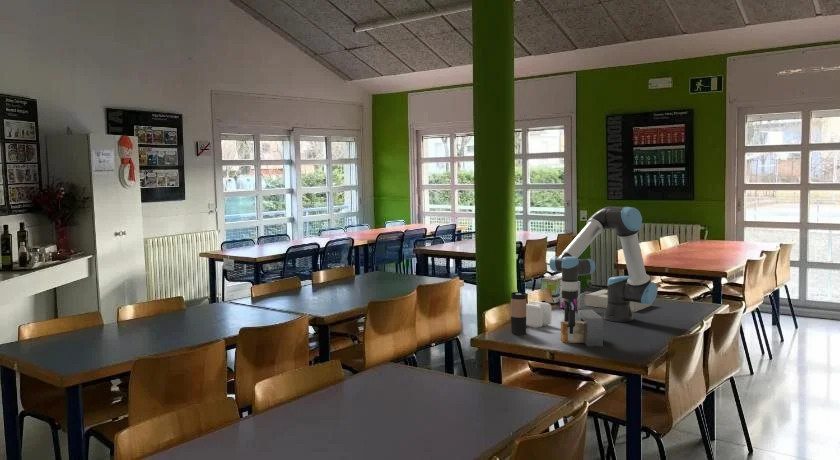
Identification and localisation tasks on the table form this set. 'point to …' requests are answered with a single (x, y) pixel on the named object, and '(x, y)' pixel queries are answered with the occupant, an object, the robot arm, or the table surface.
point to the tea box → (552, 286)
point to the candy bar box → (561, 300)
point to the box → (602, 300)
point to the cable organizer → (538, 314)
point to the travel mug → (518, 313)
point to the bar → (577, 332)
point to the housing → (592, 327)
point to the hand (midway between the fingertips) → (569, 338)
